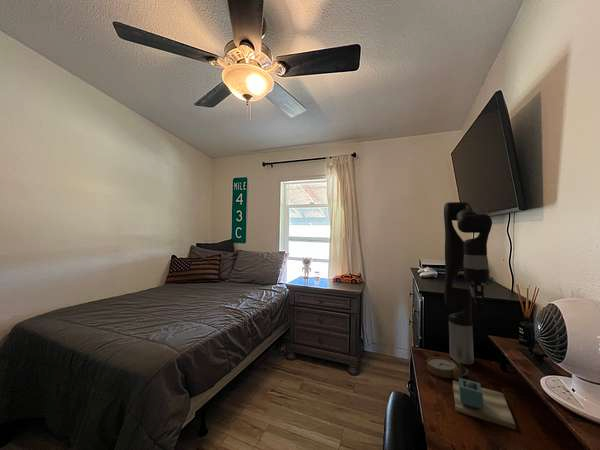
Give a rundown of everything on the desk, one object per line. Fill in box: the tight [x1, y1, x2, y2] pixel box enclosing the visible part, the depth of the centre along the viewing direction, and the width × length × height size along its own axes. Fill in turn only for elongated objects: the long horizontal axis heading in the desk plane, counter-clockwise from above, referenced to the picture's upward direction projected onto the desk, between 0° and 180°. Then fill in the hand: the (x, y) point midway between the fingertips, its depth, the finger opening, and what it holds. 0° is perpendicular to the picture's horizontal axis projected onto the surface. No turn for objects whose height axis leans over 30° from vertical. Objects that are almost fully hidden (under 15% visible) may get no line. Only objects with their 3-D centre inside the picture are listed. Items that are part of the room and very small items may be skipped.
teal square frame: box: [458, 377, 483, 409], centre depth 79 cm, size 6×6×5 cm
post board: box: [452, 379, 517, 430], centre depth 81 cm, size 16×15×8 cm
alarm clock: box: [425, 356, 469, 381], centre depth 99 cm, size 11×5×15 cm
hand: (477, 310), depth 87 cm, fingers open, 8 cm apart
